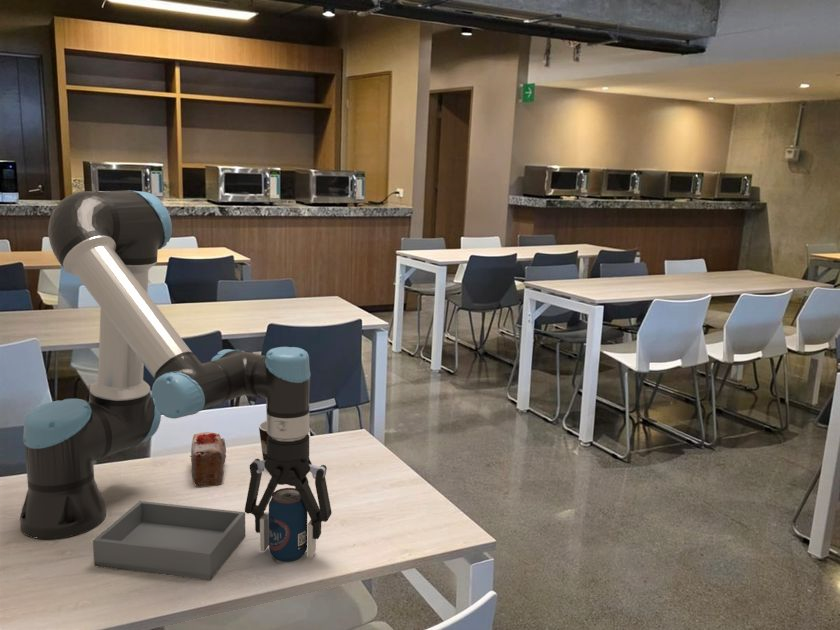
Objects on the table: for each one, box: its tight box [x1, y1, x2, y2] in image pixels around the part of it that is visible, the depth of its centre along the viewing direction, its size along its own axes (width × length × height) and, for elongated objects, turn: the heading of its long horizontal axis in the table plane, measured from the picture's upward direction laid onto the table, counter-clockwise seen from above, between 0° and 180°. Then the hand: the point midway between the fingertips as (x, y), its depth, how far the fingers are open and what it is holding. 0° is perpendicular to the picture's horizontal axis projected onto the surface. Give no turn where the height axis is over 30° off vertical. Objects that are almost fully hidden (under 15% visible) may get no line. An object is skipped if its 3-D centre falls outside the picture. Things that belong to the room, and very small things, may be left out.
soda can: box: [268, 487, 308, 564], centre depth 132 cm, size 7×7×12 cm
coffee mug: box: [258, 420, 268, 461], centre depth 170 cm, size 12×9×10 cm
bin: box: [92, 500, 246, 582], centre depth 132 cm, size 22×16×5 cm
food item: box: [189, 431, 227, 488], centre depth 165 cm, size 14×8×10 cm, turn 18°
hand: (288, 550), depth 133 cm, fingers open, 8 cm apart
